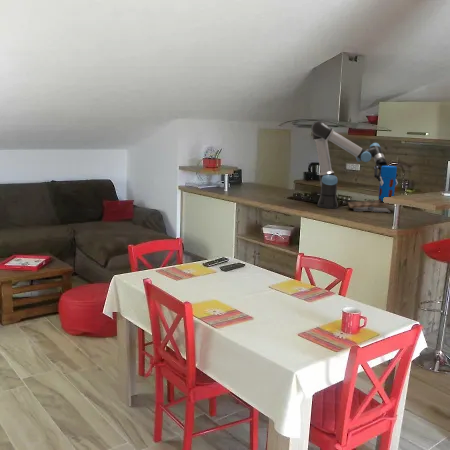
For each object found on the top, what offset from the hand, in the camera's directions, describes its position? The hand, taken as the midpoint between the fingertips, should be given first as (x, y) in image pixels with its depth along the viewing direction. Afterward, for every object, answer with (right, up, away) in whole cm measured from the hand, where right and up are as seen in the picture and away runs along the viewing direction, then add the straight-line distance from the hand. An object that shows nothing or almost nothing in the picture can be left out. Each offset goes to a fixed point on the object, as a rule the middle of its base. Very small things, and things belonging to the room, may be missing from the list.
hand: (389, 184), depth 368 cm
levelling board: (-11, -14, +7) cm, 19 cm away
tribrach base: (-11, -18, +8) cm, 23 cm away
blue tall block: (-1, -11, +5) cm, 13 cm away
